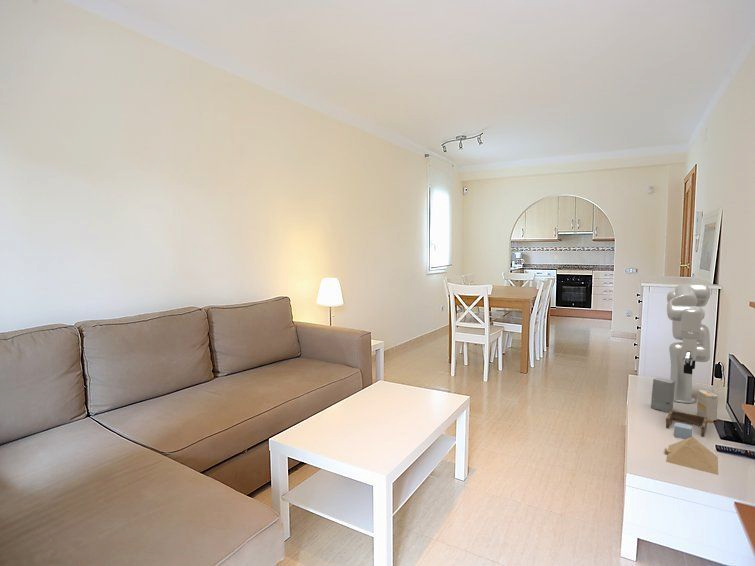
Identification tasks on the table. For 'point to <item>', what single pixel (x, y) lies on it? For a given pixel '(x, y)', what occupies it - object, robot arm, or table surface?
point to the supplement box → (707, 405)
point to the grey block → (682, 430)
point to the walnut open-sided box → (687, 420)
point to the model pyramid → (692, 455)
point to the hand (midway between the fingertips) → (689, 370)
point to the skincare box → (662, 394)
